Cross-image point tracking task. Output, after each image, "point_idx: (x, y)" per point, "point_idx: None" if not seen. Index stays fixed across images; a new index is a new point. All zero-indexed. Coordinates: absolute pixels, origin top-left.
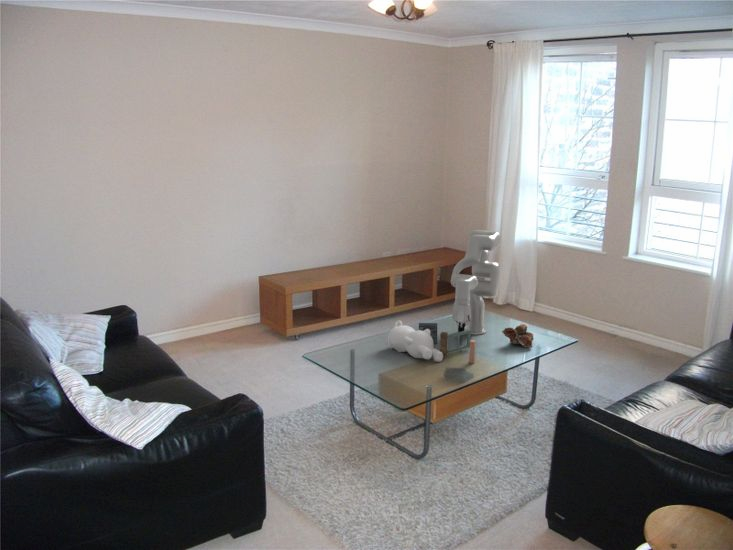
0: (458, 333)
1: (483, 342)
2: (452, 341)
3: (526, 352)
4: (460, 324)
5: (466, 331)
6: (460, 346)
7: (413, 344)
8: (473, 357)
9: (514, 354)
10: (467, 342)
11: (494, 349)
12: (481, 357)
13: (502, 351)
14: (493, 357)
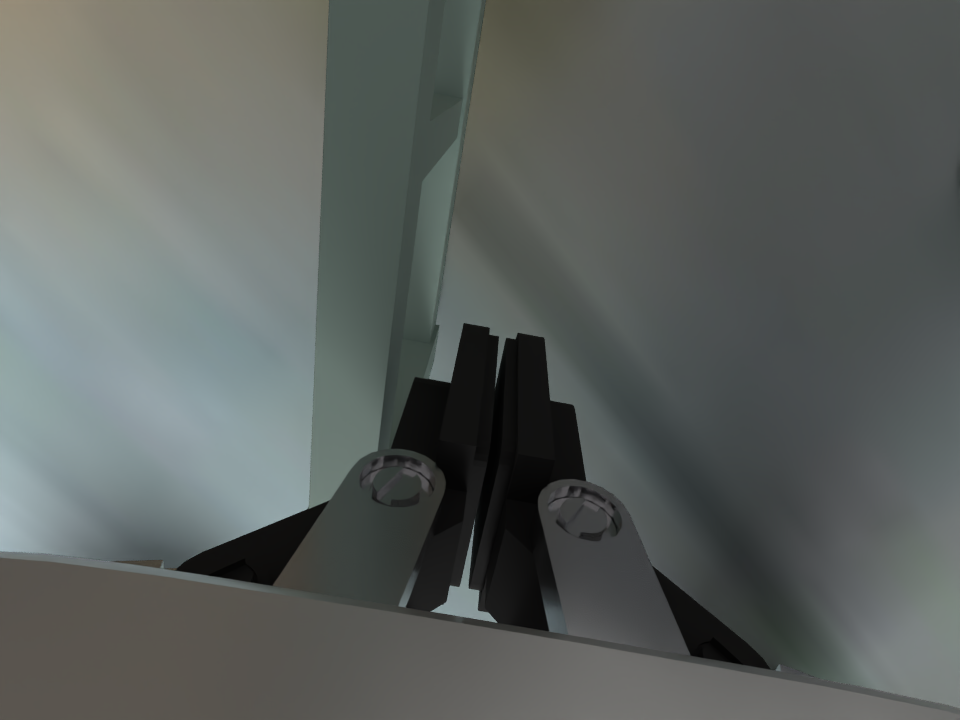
0: (326, 137)
1: (459, 589)
2: (774, 417)
3: None
4: (523, 590)
5: (313, 455)
6: (443, 204)
7: None
8: None
9: (28, 533)
10: (405, 361)
11: (242, 518)
12: (107, 227)
13: (152, 525)
14: (40, 335)
